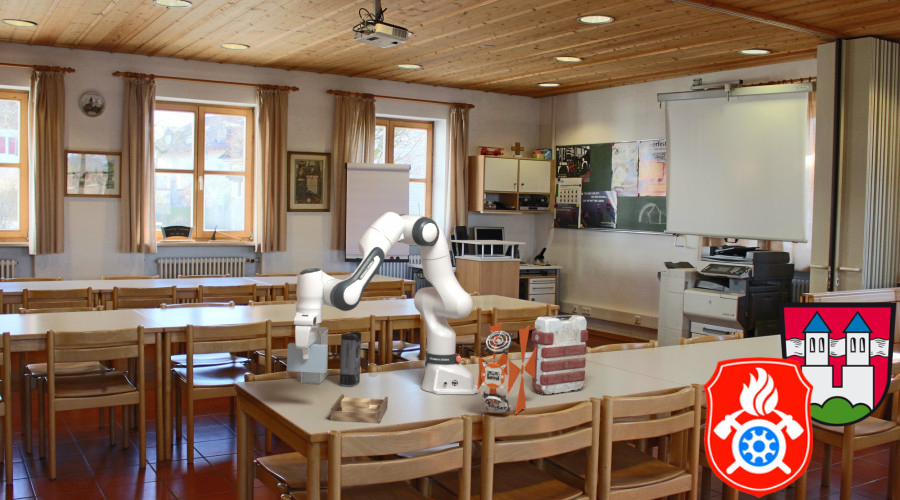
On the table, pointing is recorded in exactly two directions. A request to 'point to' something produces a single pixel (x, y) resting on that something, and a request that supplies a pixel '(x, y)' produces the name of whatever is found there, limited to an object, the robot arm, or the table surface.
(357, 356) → the electronic device
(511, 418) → the table surface
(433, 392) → the robot arm
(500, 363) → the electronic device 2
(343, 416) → the wooden tray
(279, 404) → the table surface
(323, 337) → the hard drive box
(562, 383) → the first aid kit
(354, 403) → the offcut stack
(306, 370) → the blue-grey flat box
